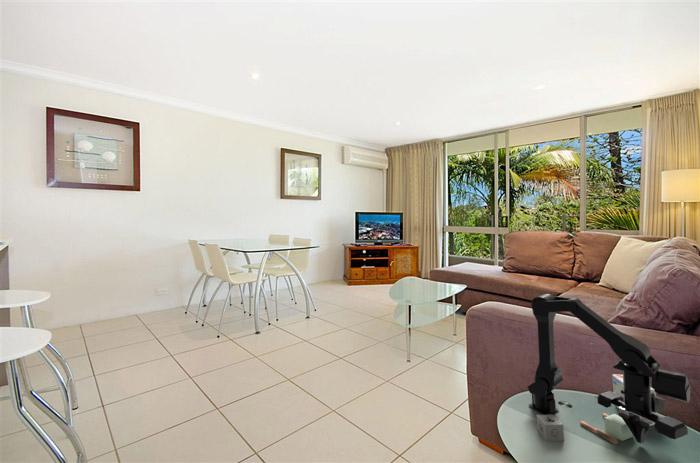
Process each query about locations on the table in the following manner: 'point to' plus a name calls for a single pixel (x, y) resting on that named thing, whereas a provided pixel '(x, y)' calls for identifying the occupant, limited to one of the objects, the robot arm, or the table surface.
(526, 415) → the table surface
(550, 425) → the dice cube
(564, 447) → the table surface
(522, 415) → the table surface
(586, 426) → the pair of wooden sticks
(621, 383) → the light bulb box
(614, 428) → the sage block
